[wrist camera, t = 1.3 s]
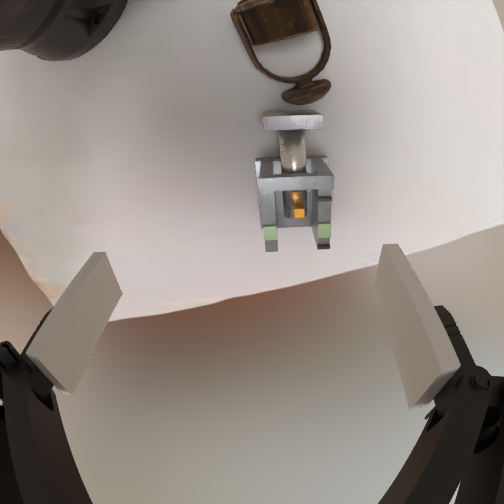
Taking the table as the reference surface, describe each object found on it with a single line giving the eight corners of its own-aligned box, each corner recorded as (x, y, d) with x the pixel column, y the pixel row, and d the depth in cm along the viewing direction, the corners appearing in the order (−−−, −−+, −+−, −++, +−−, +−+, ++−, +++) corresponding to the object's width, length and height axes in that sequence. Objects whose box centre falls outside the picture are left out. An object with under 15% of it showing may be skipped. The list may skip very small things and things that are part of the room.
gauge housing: (255, 159, 29) (251, 179, 24) (326, 156, 29) (340, 175, 23) (261, 224, 34) (259, 257, 28) (325, 221, 33) (336, 254, 27)
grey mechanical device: (263, 112, 25) (260, 120, 19) (313, 110, 25) (329, 118, 18) (271, 205, 31) (270, 241, 24) (316, 203, 30) (328, 238, 24)
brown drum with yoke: (351, -20, 14) (234, -36, 13) (358, 107, 20) (236, 100, 19) (321, 3, 20) (226, -5, 19) (324, 107, 26) (228, 105, 25)
